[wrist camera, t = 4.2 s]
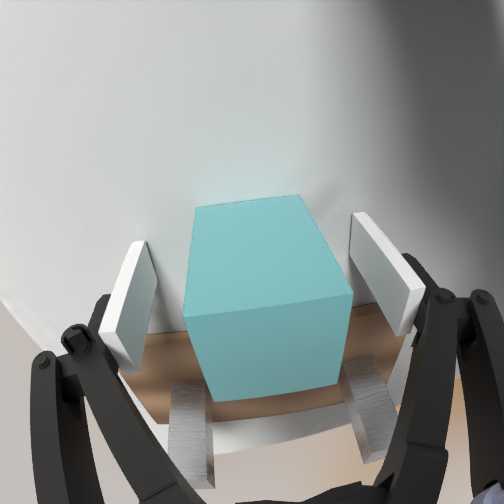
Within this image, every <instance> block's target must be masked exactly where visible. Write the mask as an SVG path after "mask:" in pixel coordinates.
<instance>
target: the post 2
mask: <svg viewBox="0 0 504 504" xmlns="http://www.w3.org/2000/svg"><path fill="white" fill-rule="evenodd" d="M338 382H339V385H340V388H341V391H342V394H343V398H344V401H345V404H346V407H347V410H348V413H349V417H350V420H351V423H352V426H353V430H354V433H355V436H356V439H357V443H358V446H359V449H360V453H361V456H362V460H363V463H364V464H367V463H370V462H374V461H377V460H380V459H383V458H386V455H387V452H388V448H389V445H390V442H391V439H392V436H393V432H394V429H395V425H396V422H397V418H398V414H397V412H396V410H395V407H394V404H393V402H392V399H391V397H390V395H389V392H388V390H387V387H386V385H385V383H384V380H383V378H382V375H381V373H380V371H379V368H378V366H377V364H376V362H375V359H374V357H373V355H372V354H371V355H367V356H363V357H358V358H354V359H349V360H345V361H342V362H341V367H340V372H339V376H338Z"/></svg>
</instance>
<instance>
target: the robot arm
mask: <svg viewBox="0 0 504 504" xmlns="http://www.w3.org/2000/svg"><path fill="white" fill-rule="evenodd" d="M349 255H350V257H351V258H352V260H353V262H354V263H355V265H356V267H357V268H358V270H359V272H360V273H361V275H362V277H363V278H364V280H365V282H366V284H367V285H368V287H369V289H370V291H371V292H372V294H373V296H374V297H375V299H376V301H377V303H378V305H379V306H380V308H381V310H382V312H383V314H384V315H385V317H386V319H387V321H388V323H389V324H390V326H391V328H392V330H393V332H394V334H395V336H396V337H398V336H401V335H405V334H409V333H411V330H412V327H413V324H414V325H415V327H416V328H417V333H416V335H415V338H414V340H413V343H412V345H411V347H413V352H412V357H411V363H410V368H409V373H408V377H407V382H406V386H405V391H404V395H403V399H402V403H401V407H400V411H399V415H398V418H397V422H396V425H395V429H394V432H393V436H392V439H391V442H390V445H389V448H388V452H387V455H386V458H385V460H384V463H383V466H382V468H381V470H380V472H379V474H378V475H377V477H376V479H375V482H374V484H373V486H367V485H362V483H361V481H359V482H355V483H352V484H348V485H344V486H340V487H336V488H332V489H330V490H327V491H325V492H323V493H321V494H319V495H317V496H314V497H312V498H310V499H308V500H305V501H303V502H284V501H272V500H262V501H254V502H242V503H235V504H437V501H438V497H439V494H440V490H441V486H442V483H443V479H444V475H445V471H446V467H447V462H448V451H447V450H446V449H445V441H446V436H447V431H448V424H449V419H450V412H451V405H452V397H453V388H454V378H455V366H456V354H457V359H458V364H459V370H460V375H461V381H462V387H463V394H464V400H465V408H466V417H467V426H468V437H469V451H470V475H471V487H472V493H473V498H474V499H473V500H472V502H471V504H504V322H503V320H502V317H501V315H500V312H499V310H498V307H497V305H496V302H495V300H494V298H493V297H492V295H491V294H490V293H488V292H487V291H484V290H481V289H477V290H474V291H472V293H471V296H470V298H456V296H455V295H454V294H453V293H452V292H451V291H449V290H447V289H445V288H439V287H438V286H437V284H436V283H435V282H434V280H433V279H432V278H431V277H430V275H429V274H428V273H427V272H426V271H425V269H424V268H423V267H422V266H421V264H420V263H419V262H418V261H417V259H416V258H414V257H413V256H411V255H410V254H408V253H404V254H400V253H399V251H398V250H397V249H396V248H395V247H394V245H393V244H392V243H391V242H390V240H389V239H388V238H387V237H386V236H385V234H384V233H383V232H382V231H381V230H380V229H379V227H378V226H377V225H376V224H375V223H374V222H373V220H372V219H371V218H370V217H369V216H368V215H367V214H366V212H359V213H353V214H352V228H351V241H350V252H349ZM157 282H158V280H157V277H156V274H155V271H154V268H153V265H152V261H151V258H150V255H149V252H148V249H147V246H146V242H145V240H143V241H136V242H132V243H131V246H130V248H129V250H128V253H127V255H126V258H125V260H124V263H123V265H122V268H121V270H120V273H119V275H118V278H117V281H116V283H115V286H114V289H113V291H112V294H106V295H103V296H102V297H101V298H100V299H99V300H98V301H97V303H96V306H95V308H94V312H93V313H92V316H91V317H92V318H91V319H90V321H89V324H88V327H87V326H86V325H84V324H75V325H72V326H70V327H69V328H68V329H66V330H65V332H64V333H63V335H62V337H61V343H62V344H63V346H64V347H65V349H66V350H67V352H68V354H65V355H62V356H58V357H56V356H55V354H54V353H53V352H52V351H43V352H41V353H39V354H38V355H37V356H36V357H35V359H34V360H33V363H32V369H31V390H30V391H31V392H30V427H31V428H30V430H31V450H32V462H33V472H34V480H35V488H36V494H37V501H38V504H105V503H104V500H103V496H102V492H101V488H100V484H99V480H98V476H97V472H96V467H95V463H94V458H93V453H92V448H91V443H90V437H89V432H88V425H87V418H86V411H85V403H84V396H86V398H87V401H88V403H89V405H90V408H91V410H92V412H93V414H94V417H95V419H96V421H97V423H98V426H99V427H100V430H101V432H102V434H103V436H104V438H105V440H106V442H107V444H108V446H109V448H110V450H111V452H112V454H113V455H114V457H115V459H116V461H117V463H118V465H119V466H120V468H121V470H122V472H123V474H124V475H125V477H126V479H127V480H128V482H129V484H130V485H131V487H132V489H133V490H134V492H135V493H136V495H137V497H138V499H139V504H206V503H205V502H204V501H203V500H202V499H201V498H200V496H199V495H198V494H197V493H196V492H195V490H194V489H193V488H192V487H191V485H190V484H189V483H188V482H187V480H186V479H185V478H184V476H183V475H182V474H181V473H180V471H179V470H178V469H177V467H176V466H175V464H174V463H173V462H172V460H171V459H170V458H169V456H168V455H167V453H166V452H165V450H164V449H163V448H162V446H161V445H160V443H159V442H158V440H157V439H156V437H155V436H154V434H153V433H152V431H151V430H150V428H149V427H148V425H147V423H146V422H145V420H144V419H143V417H142V415H141V414H140V412H139V410H138V409H137V407H136V406H135V404H134V402H133V400H132V399H131V397H130V395H129V394H128V392H127V390H126V388H125V386H124V385H123V383H122V381H121V379H120V378H119V376H118V375H117V374H118V370H119V368H120V369H121V371H122V372H123V374H140V369H141V363H142V357H143V351H144V345H145V340H146V335H147V329H148V324H149V319H150V314H151V309H152V305H153V300H154V295H155V291H156V286H157Z"/></svg>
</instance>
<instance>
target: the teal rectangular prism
mask: <svg viewBox="0 0 504 504" xmlns="http://www.w3.org/2000/svg"><path fill="white" fill-rule="evenodd" d="M352 300H353V291H352V289H351V287H350V285H349V283H348V281H347V279H346V278H345V276H344V274H343V272H342V270H341V268H340V266H339V264H338V263H337V261H336V259H335V257H334V255H333V253H332V251H331V250H330V248H329V246H328V244H327V242H326V241H325V239H324V237H323V235H322V233H321V232H320V230H319V228H318V226H317V225H316V223H315V221H314V219H313V218H312V216H311V214H310V212H309V211H308V209H307V207H306V205H305V204H304V202H303V200H302V199H301V197H300V195H292V196H283V197H274V198H266V199H257V200H249V201H241V202H234V203H226V204H219V205H212V206H205V207H198V208H196V211H195V218H194V225H193V232H192V240H191V247H190V255H189V263H188V271H187V280H186V289H185V298H184V308H183V320H184V323H185V326H186V329H187V331H188V334H189V337H190V340H191V343H192V345H193V348H194V351H195V354H196V356H197V359H198V362H199V365H200V367H201V370H202V372H203V375H204V378H205V380H206V383H207V385H208V388H209V390H210V393H211V395H212V398H213V400H214V402H221V401H232V400H241V399H250V398H258V397H265V396H272V395H279V394H285V393H291V392H297V391H303V390H308V389H314V388H319V387H324V386H329V385H334V384H337V381H338V376H339V372H340V367H341V362H342V357H343V352H344V347H345V342H346V336H347V331H348V325H349V319H350V313H351V306H352Z"/></svg>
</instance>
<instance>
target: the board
mask: <svg viewBox="0 0 504 504" xmlns="http://www.w3.org/2000/svg"><path fill="white" fill-rule="evenodd" d="M405 336H406V334H405V335H401V336H398V337H396V336H395V334H394V332H393V330H392V328H391V326H390V324H389V323H388V321H387V319H386V317H385V315H384V314H383V312H382V310H381V308H380V306H379V305H378V303H373V304H368V305H363V306H358V307H353V308H351V313H350V319H349V325H348V331H347V336H346V342H345V347H344V352H343V357H342V361H345V360H349V359H354V358H358V357H363V356H367V355H371V354H372V355H373V357H374V359H375V362H376V364H377V366H378V368H379V371H380V373H381V375H382V378H383V380H384V383H385V385H386V384H387V381H388V379H389V377H390V374H391V372H392V370H393V367H394V365H395V362H396V360H397V357H398V355H399V352H400V350H401V347H402V344H403V342H404V339H405ZM118 371H119V372H120V374H121V375H122V377H123V378H124V380H125V381H126V383H127V384H128V386H129V387H130V388H131V390H132V391H133V393H134V394H135V395H136V397H137V398H138V400H139V401H140V402H141V404H142V405H143V406H144V408H145V409H146V410H147V412H148V413H149V414H150V415H151V417H152V418H153V419H154V421H155V422H156V423H157V424H169V416H170V400H171V386H172V384H174V383H190V382H203V381H205V383H206V380H205V378H204V375H203V372H202V370H201V367H200V365H199V362H198V359H197V356H196V354H195V351H194V348H193V345H192V343H191V340H190V337H189V334H188V331H184V332H173V333H161V334H149V335H146V340H145V345H144V351H143V357H142V363H141V369H140V374H123V372H122V371H121V369H120V368H119V370H118ZM206 386H207V388H208V385H207V383H206ZM208 391H209V393H210V390H209V388H208ZM210 396H211V398H212V395H211V393H210ZM343 402H345V401H344V398H343V394H342V391H341V388H340V385H339V382H338V381H337V384H334V385H329V386H324V387H319V388H314V389H308V390H303V391H297V392H291V393H285V394H279V395H272V396H265V397H258V398H250V399H241V400H232V401H221V402H214V400H213V398H212V422H222V421H233V420H243V419H252V418H260V417H267V416H274V415H281V414H287V413H293V412H299V411H305V410H310V409H315V408H320V407H325V406H330V405H334V404H339V403H343Z"/></svg>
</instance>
